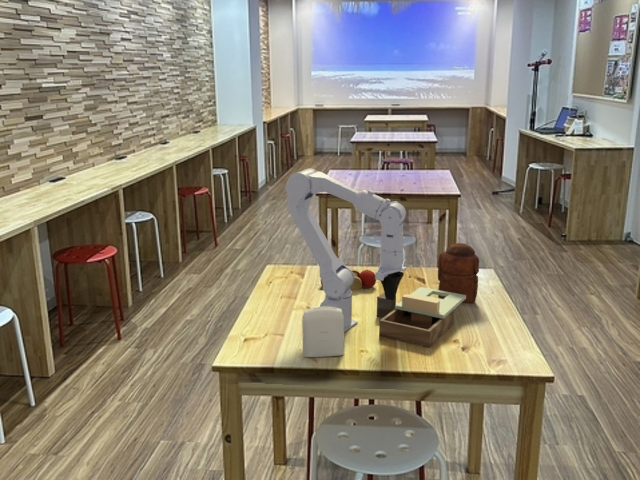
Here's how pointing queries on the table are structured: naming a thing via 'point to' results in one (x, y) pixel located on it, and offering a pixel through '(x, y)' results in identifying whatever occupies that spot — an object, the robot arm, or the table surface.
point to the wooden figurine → (459, 271)
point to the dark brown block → (384, 306)
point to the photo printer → (323, 332)
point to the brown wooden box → (414, 327)
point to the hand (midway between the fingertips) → (390, 298)
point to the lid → (430, 302)
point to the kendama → (362, 279)
